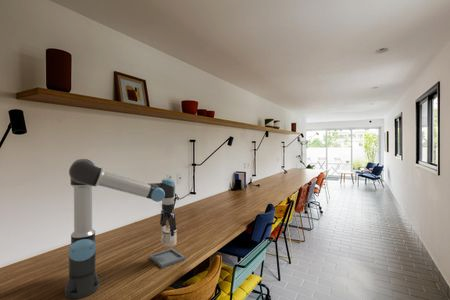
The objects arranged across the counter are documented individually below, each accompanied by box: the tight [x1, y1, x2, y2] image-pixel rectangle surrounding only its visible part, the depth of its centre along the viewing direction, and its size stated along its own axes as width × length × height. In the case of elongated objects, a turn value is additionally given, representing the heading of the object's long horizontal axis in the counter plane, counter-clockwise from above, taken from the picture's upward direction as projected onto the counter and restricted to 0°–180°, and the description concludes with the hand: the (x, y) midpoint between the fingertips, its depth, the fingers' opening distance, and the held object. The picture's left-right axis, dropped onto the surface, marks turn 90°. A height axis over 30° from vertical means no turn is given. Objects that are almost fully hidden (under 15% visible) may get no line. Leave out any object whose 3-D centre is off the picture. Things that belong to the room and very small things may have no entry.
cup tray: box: [149, 248, 186, 269], centre depth 159 cm, size 16×16×2 cm
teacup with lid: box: [160, 225, 178, 248], centre depth 158 cm, size 12×9×12 cm
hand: (167, 238), depth 158 cm, fingers closed on teacup with lid, 9 cm apart
